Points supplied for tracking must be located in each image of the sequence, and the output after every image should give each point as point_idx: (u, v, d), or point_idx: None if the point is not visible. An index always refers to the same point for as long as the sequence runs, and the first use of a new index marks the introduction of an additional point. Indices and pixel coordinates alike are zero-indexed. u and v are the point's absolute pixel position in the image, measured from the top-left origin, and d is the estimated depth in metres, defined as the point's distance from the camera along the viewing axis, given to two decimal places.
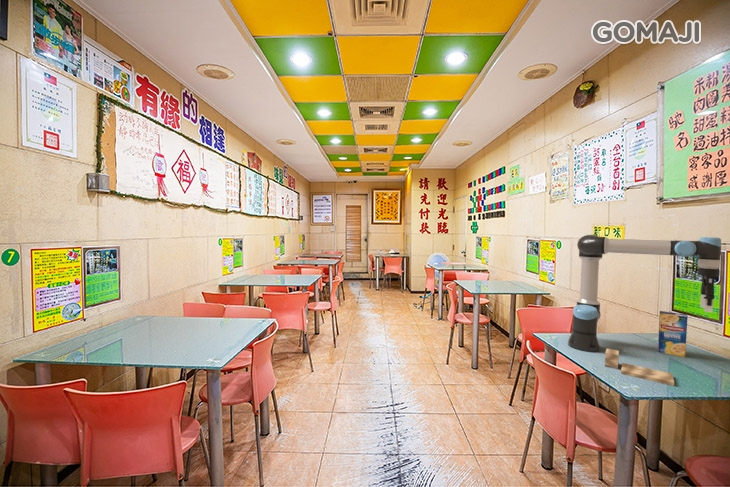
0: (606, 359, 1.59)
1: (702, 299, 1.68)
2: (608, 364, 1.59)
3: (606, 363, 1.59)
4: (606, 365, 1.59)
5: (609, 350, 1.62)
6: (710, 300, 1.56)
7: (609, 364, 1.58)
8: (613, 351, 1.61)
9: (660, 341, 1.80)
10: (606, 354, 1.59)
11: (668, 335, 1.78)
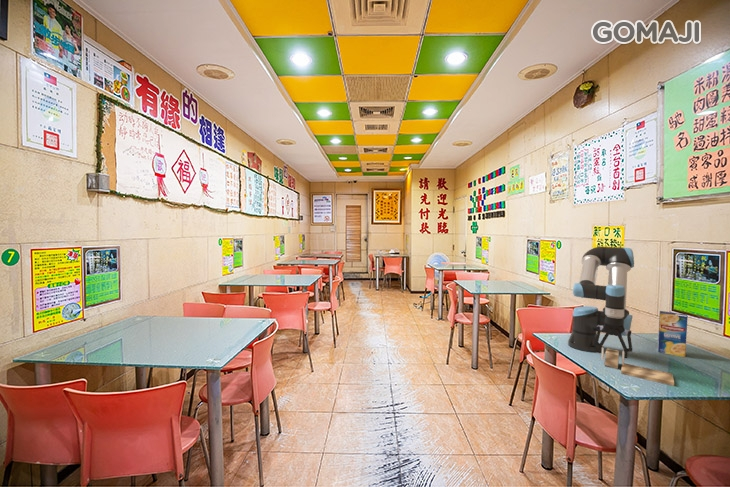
0: (606, 359, 1.59)
1: None
2: (608, 364, 1.59)
3: (606, 363, 1.59)
4: (606, 365, 1.59)
5: (609, 350, 1.62)
6: None
7: (609, 364, 1.58)
8: (613, 351, 1.61)
9: (660, 341, 1.80)
10: (606, 354, 1.59)
11: (668, 335, 1.78)
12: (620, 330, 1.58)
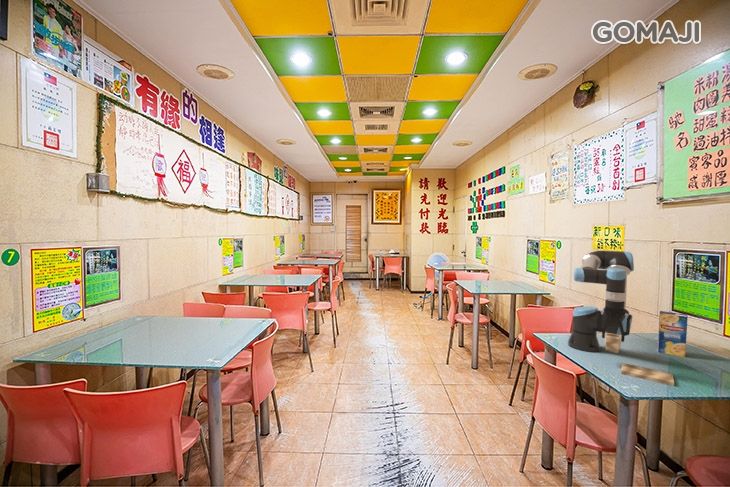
0: (607, 343, 1.59)
1: (619, 338, 1.60)
2: (609, 348, 1.59)
3: (607, 347, 1.59)
4: (607, 349, 1.59)
5: (610, 334, 1.62)
6: None
7: (610, 348, 1.58)
8: (614, 335, 1.61)
9: (660, 341, 1.80)
10: (607, 338, 1.59)
11: (668, 335, 1.78)
12: (620, 313, 1.57)
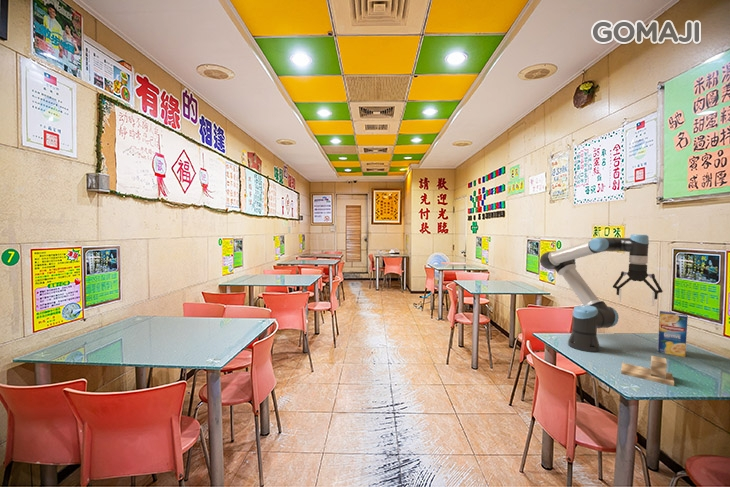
0: (652, 368, 1.46)
1: (652, 297, 1.68)
2: (655, 373, 1.45)
3: (652, 372, 1.46)
4: (652, 374, 1.46)
5: (655, 358, 1.49)
6: None
7: (656, 373, 1.45)
8: (660, 359, 1.48)
9: (660, 341, 1.80)
10: (652, 362, 1.46)
11: (668, 335, 1.78)
12: (644, 276, 1.69)
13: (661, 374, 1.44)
